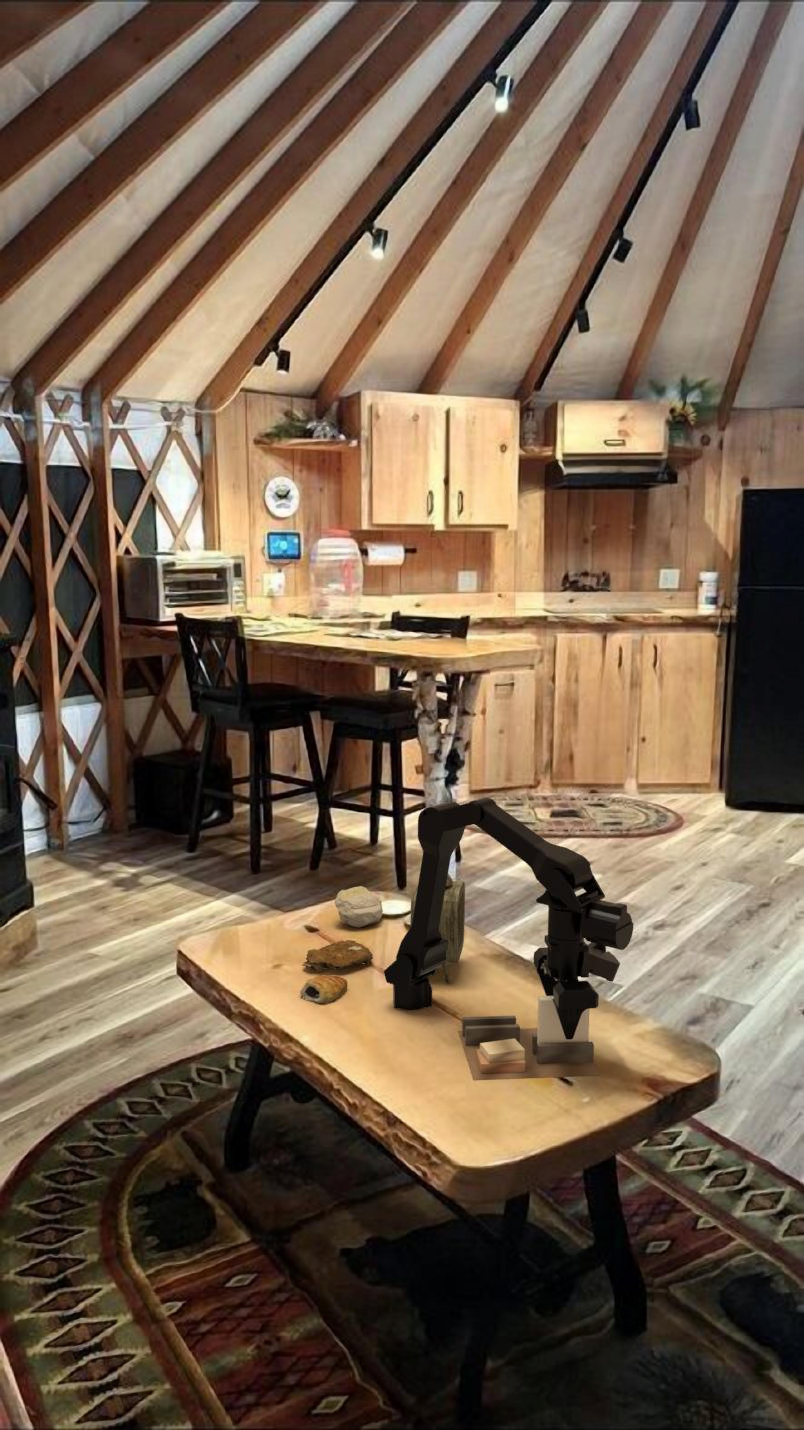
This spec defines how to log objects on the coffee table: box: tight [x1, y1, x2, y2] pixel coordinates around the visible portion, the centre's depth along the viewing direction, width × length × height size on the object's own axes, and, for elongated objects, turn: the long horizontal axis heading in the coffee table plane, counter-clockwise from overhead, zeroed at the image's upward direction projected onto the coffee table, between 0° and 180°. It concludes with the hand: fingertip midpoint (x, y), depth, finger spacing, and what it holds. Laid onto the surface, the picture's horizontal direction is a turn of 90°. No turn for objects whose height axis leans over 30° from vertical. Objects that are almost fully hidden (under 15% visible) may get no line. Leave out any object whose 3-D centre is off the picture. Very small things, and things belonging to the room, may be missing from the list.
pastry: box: [299, 974, 348, 1004], centre depth 192 cm, size 9×7×4 cm
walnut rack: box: [457, 1015, 602, 1081], centre depth 166 cm, size 20×17×4 cm
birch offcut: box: [480, 1039, 525, 1064], centre depth 162 cm, size 6×4×2 cm, turn 107°
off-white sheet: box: [536, 995, 590, 1043], centre depth 164 cm, size 8×2×10 cm, turn 95°
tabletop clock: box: [409, 873, 466, 984], centre depth 201 cm, size 14×9×25 cm, turn 170°
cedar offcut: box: [476, 1049, 525, 1073], centre depth 162 cm, size 7×5×2 cm
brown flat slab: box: [301, 939, 374, 973], centre depth 206 cm, size 11×4×15 cm
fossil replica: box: [334, 885, 384, 928], centre depth 230 cm, size 12×8×10 cm
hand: (562, 1027), depth 164 cm, fingers open, 8 cm apart
